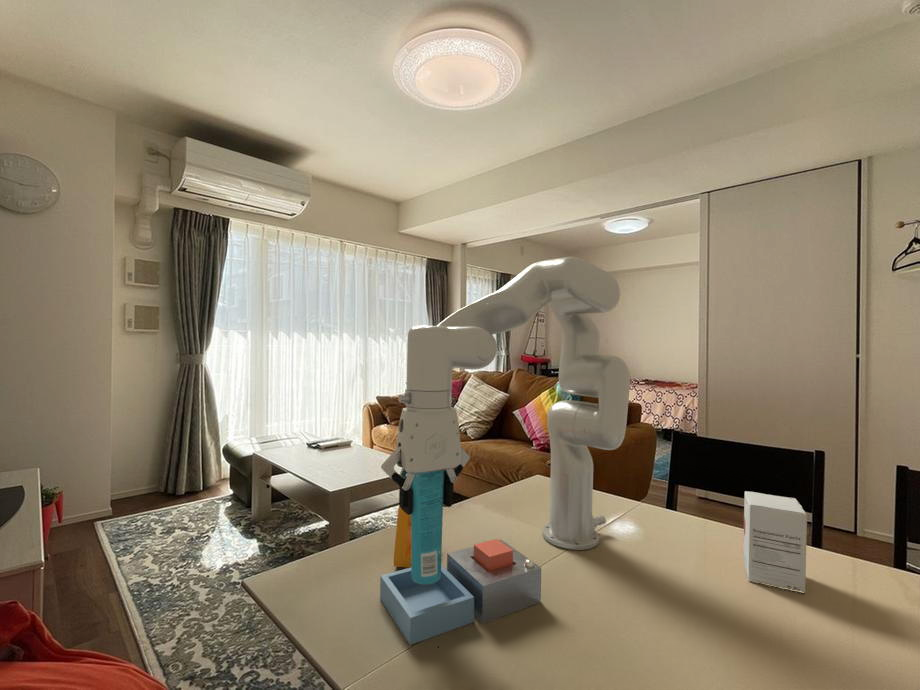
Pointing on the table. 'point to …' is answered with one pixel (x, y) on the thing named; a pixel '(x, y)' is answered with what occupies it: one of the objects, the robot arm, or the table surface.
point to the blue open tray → (426, 604)
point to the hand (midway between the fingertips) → (426, 507)
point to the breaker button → (493, 555)
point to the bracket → (403, 540)
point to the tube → (427, 527)
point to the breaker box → (497, 583)
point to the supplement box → (775, 540)
